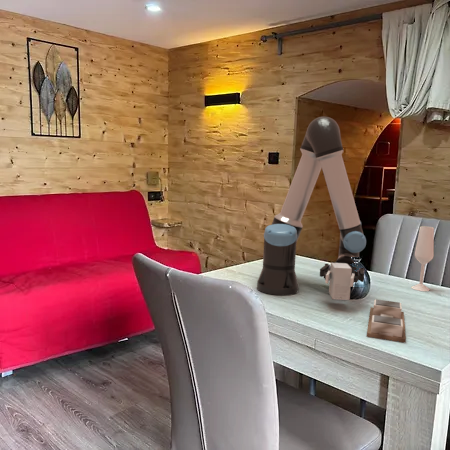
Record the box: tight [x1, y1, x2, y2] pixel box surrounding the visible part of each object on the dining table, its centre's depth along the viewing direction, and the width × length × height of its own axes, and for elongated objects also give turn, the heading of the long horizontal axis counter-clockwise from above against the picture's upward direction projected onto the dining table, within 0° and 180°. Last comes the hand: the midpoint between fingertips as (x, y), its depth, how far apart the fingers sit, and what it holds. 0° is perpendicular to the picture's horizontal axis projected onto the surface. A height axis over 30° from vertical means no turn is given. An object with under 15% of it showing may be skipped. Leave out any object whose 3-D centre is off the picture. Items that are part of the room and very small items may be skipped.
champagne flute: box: [411, 225, 435, 292], centre depth 172 cm, size 7×7×24 cm
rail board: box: [366, 298, 407, 343], centre depth 133 cm, size 10×24×4 cm, turn 160°
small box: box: [328, 262, 352, 301], centre depth 148 cm, size 8×6×10 cm
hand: (339, 280), depth 143 cm, fingers closed on small box, 7 cm apart
